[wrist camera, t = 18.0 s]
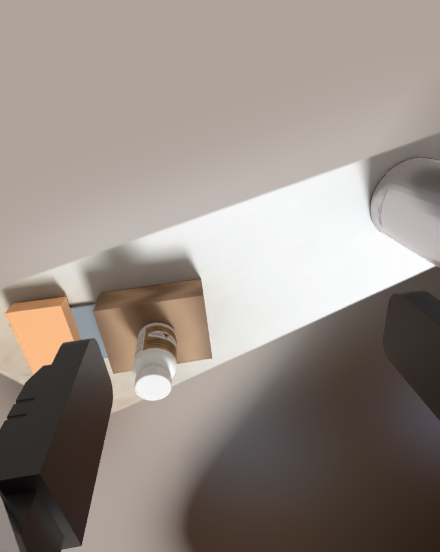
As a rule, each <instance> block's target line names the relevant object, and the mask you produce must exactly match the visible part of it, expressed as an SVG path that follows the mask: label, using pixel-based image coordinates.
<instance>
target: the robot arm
mask: <svg viewBox="0 0 440 552" xmlns="http://www.w3.org/2000/svg"><path fill="white" fill-rule="evenodd" d="M371 217H372V221H373V223H374V225H375V226H376V228H377V229H378V230H379V231H380V232H382V233H383V234H385V235H387V236H388V237H390V238H392V239H393V240H395V241H396V242H398V243H400V244H401V245H403V246H404V247H406V248H408V249H409V250H411V251H413V252H414V253H416V254H418V255H419V256H421V257H423V258H424V259H426V260H428V261H429V262H431V263H433V264H434V265H436V266H437V267H439V268H440V161H439V160H434V159H429V158H421V157H420V158H412V159H409V160H406V161H403V162H401V163H400V164H398V165H396V166H395V167H393V168H392V169H391V170H390V171H388V172H387V173H386V175H385V176H384V177H383V178H382V179H381V181H380V182H379V184H378V185H377V187H376V189H375V191H374V194H373V196H372V201H371ZM383 347H384V351H385V354H386V356H387V358H388V360H389V361H390V362H391V363H392V365H393V366H394V367H395V368H396V369H397V371H398V372H399V373H400V374H401V375H402V377H403V378H404V379H405V380H406V381H407V383H408V384H409V385H410V386H411V387H412V388H413V390H414V391H415V392H416V393H417V394H418V395H419V397H420V398H421V399H422V400H423V401H424V403H425V404H426V405H427V406H428V407H429V409H430V410H431V411H432V412H433V413H434V414H435V416H436V417H437V418H438V419H439V420H440V300H438V299H437V298H436V297H434V296H433V295H431V294H430V293H429V292H427V291H425V290H416V291H410V292H403V293H396V294H393V295H392V296H391V297H390V300H389V304H388V310H387V316H386V323H385V328H384V335H383ZM112 402H113V390H112V383H111V380H110V377H109V374H108V371H107V368H106V365H105V362H104V359H103V356H102V353H101V350H100V347H99V345H98V342H97V341H96V339H94V338H91V339H84V340H77V341H70V342H64V343H62V345H61V346H60V348H59V350H58V352H57V354H56V356H55V358H54V360H53V362H52V364H51V365H44V366H42V367H41V368H40V369H39V370H38V371H37V372H36V373H35V374H34V375H33V376H32V377H31V378H30V379H29V380H28V381H27V382H26V383H25V385H24V387H23V389H22V391H21V392H20V394H19V396H18V398H17V400H16V404H14V405H13V407H12V409H11V411H10V412H9V414H8V416H7V421H5V422H4V423H3V425H2V427H1V429H0V552H61V550H62V549H67V548H73V547H78V546H82V541H83V537H84V532H85V527H86V523H87V518H88V513H89V509H90V504H91V500H92V495H93V491H94V486H95V482H96V477H97V472H98V467H99V463H100V459H101V454H102V449H103V445H104V440H105V436H106V431H107V426H108V422H109V417H110V413H111V408H112Z"/></svg>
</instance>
